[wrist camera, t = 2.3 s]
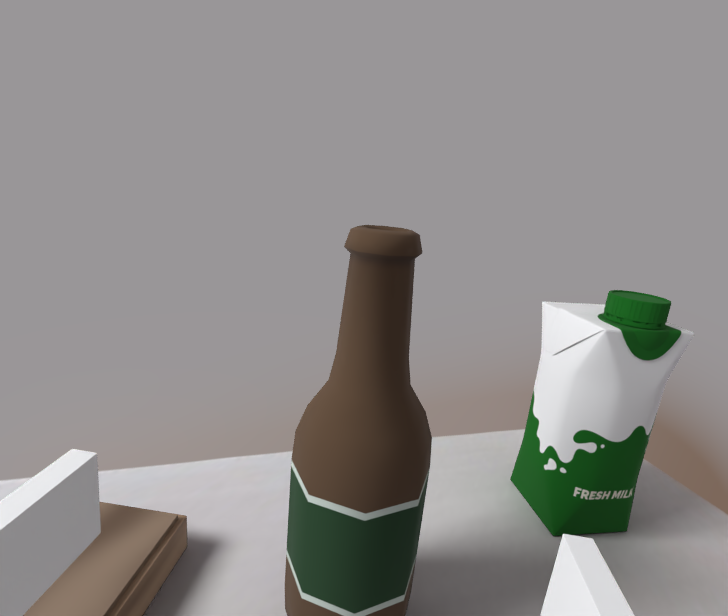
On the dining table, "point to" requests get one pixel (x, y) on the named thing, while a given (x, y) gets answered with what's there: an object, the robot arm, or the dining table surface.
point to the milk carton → (595, 409)
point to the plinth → (118, 565)
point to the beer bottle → (362, 448)
